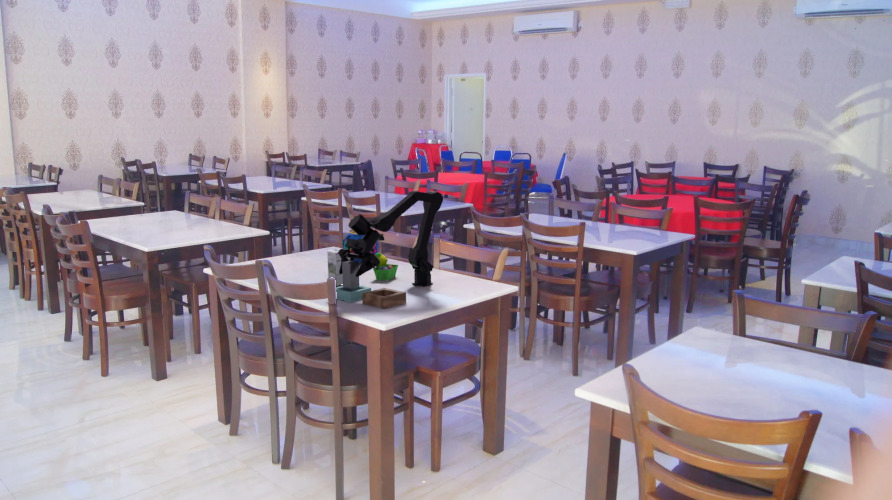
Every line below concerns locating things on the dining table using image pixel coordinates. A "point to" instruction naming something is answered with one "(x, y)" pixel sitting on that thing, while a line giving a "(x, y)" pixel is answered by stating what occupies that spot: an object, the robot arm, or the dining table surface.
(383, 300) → the bore block
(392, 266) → the fruit basket
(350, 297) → the cradle
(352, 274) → the square axle
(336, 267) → the syrup box
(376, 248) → the ceramic pot
